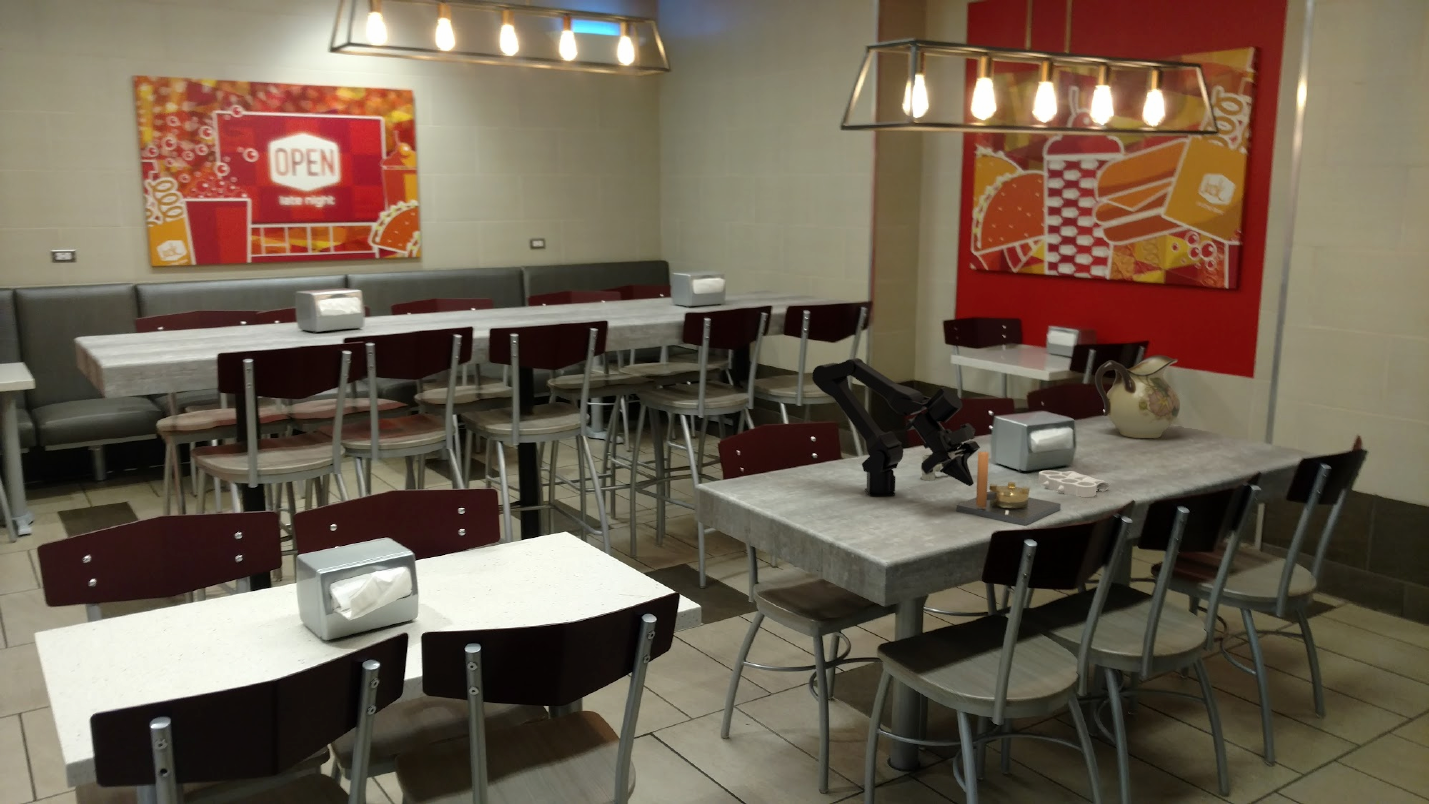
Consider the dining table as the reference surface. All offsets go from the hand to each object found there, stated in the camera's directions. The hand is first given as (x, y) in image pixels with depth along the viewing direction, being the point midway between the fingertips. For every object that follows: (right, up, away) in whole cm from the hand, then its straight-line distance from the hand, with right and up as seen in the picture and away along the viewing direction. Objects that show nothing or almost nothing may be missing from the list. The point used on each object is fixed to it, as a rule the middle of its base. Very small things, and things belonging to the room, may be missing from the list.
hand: (971, 485), depth 261 cm
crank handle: (+7, -5, +2) cm, 9 cm away
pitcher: (+74, +9, +86) cm, 114 cm away
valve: (0, -1, +35) cm, 35 cm away
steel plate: (+10, -6, +3) cm, 12 cm away
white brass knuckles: (+31, -3, +23) cm, 39 cm away
